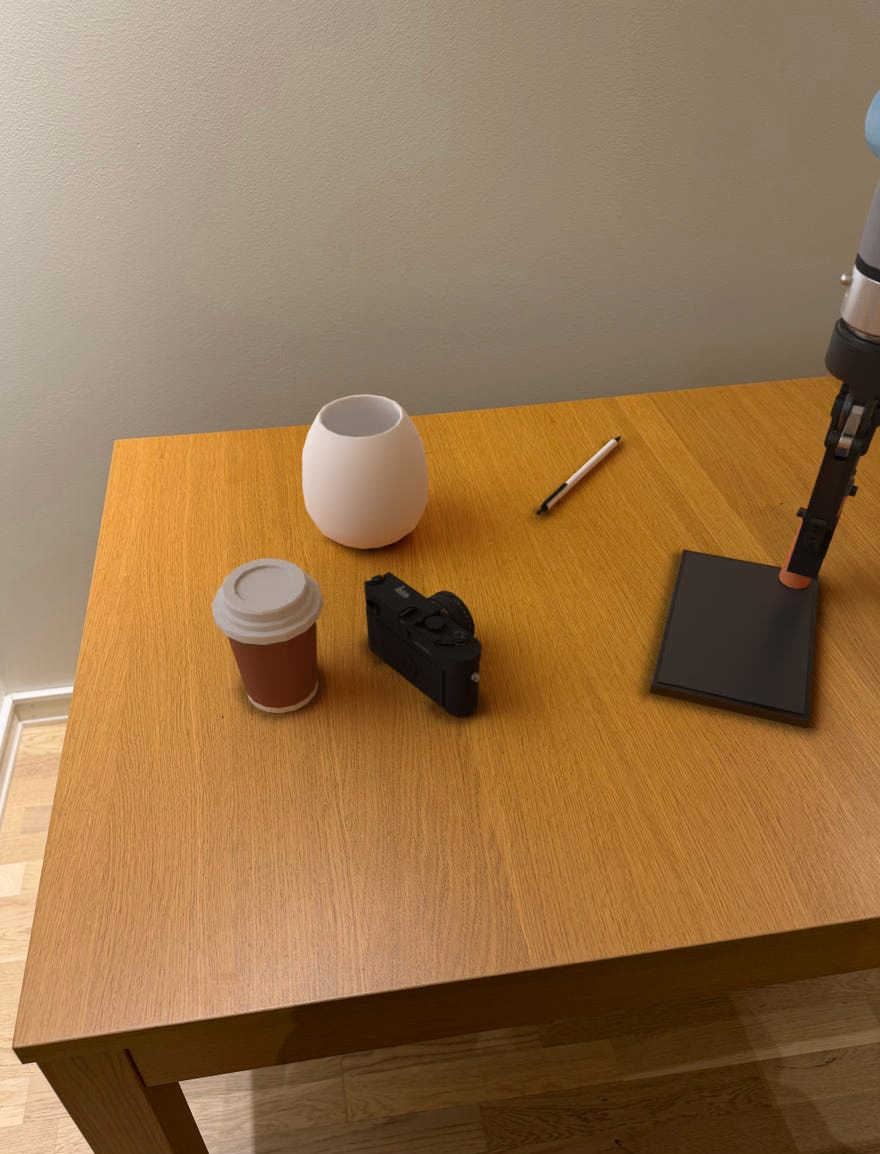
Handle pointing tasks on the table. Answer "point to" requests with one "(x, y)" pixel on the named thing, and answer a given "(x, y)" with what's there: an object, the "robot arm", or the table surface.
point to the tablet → (738, 639)
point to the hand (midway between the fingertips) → (806, 562)
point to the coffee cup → (272, 631)
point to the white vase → (364, 472)
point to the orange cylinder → (785, 576)
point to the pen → (577, 476)
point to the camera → (425, 641)
